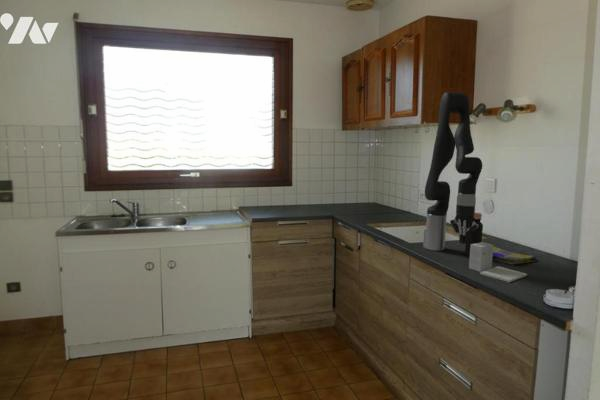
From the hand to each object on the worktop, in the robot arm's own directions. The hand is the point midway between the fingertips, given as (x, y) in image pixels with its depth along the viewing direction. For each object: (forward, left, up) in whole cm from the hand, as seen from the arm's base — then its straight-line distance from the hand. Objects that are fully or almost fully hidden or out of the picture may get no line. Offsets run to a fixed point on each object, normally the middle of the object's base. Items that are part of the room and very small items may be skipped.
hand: (462, 243), depth 186 cm
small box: (+9, 0, -9) cm, 13 cm away
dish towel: (+5, +27, -10) cm, 29 cm away
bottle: (-4, +16, -9) cm, 19 cm away
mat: (+19, 0, -9) cm, 21 cm away
